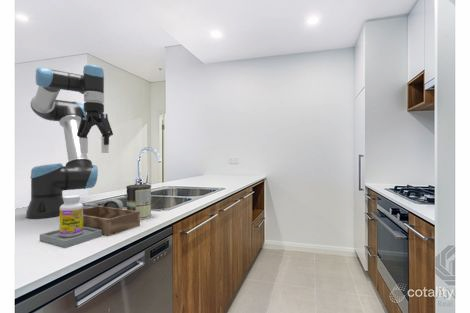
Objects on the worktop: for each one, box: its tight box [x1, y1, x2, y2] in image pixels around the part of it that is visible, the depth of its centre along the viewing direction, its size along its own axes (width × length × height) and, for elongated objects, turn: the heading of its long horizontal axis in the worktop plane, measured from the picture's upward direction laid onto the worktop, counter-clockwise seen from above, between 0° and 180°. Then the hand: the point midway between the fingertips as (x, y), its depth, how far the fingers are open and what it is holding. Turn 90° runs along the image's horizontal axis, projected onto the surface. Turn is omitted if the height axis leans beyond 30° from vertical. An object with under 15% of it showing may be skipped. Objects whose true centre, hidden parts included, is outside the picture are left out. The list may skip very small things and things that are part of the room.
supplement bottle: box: [59, 194, 84, 237], centre depth 84 cm, size 7×7×13 cm
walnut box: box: [83, 205, 141, 237], centre depth 98 cm, size 24×14×6 cm, turn 64°
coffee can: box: [125, 183, 152, 221], centre depth 111 cm, size 10×10×14 cm
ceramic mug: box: [102, 198, 124, 209], centre depth 114 cm, size 11×8×8 cm
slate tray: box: [39, 226, 103, 249], centre depth 84 cm, size 14×12×2 cm
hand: (94, 152), depth 107 cm, fingers open, 13 cm apart
